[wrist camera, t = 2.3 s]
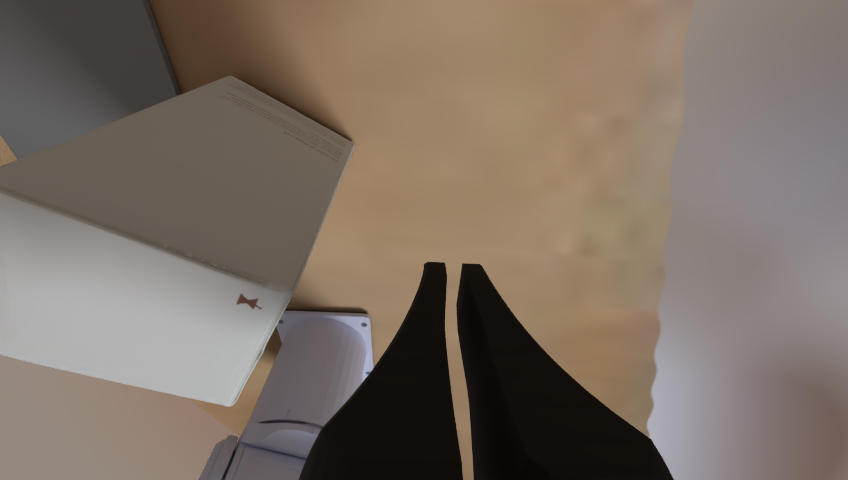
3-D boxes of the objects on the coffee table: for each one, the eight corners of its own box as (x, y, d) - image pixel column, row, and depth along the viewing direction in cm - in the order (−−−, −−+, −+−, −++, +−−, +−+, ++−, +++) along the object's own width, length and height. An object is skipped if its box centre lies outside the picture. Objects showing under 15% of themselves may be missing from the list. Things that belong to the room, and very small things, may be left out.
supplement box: (228, 69, 17) (-53, 165, 7) (359, 143, 19) (302, 297, 9) (198, 181, 20) (-16, 358, 10) (312, 232, 23) (233, 415, 13)
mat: (243, 270, 25) (241, 274, 25) (97, 264, 25) (93, 268, 25) (135, -34, 15) (129, -35, 15) (-115, -48, 15) (-127, -49, 14)
